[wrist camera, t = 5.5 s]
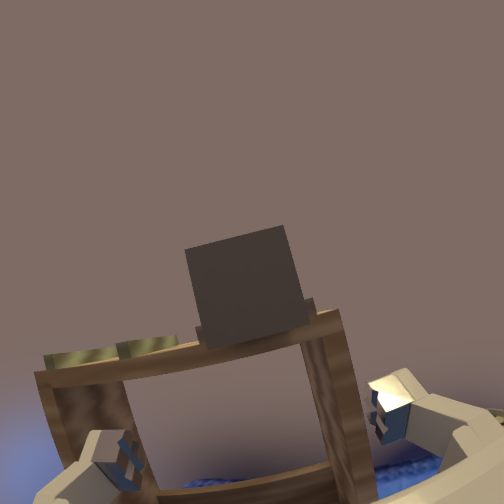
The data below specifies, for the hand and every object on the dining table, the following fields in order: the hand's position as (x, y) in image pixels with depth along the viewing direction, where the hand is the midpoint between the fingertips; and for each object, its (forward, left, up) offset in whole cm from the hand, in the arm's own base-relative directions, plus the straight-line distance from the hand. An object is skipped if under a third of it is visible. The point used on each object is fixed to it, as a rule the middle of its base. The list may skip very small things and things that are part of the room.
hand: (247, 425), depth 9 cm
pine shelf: (+11, -15, -23) cm, 30 cm away
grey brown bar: (+4, -13, +3) cm, 14 cm away
